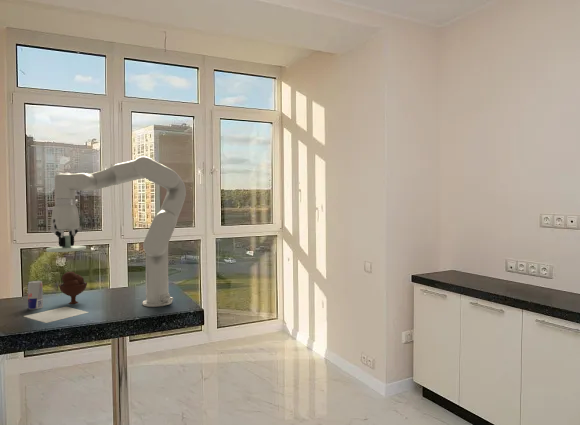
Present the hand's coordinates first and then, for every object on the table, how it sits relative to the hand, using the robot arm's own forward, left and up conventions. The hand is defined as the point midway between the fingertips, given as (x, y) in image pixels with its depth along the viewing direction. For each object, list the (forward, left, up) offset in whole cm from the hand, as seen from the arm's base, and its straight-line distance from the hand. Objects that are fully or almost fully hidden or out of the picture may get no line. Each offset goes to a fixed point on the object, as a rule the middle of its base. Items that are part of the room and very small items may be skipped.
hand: (66, 245), depth 178 cm
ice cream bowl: (+4, -5, -27) cm, 28 cm away
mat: (-8, +9, -27) cm, 30 cm away
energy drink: (+10, +8, -27) cm, 30 cm away
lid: (0, 0, -2) cm, 2 cm away
